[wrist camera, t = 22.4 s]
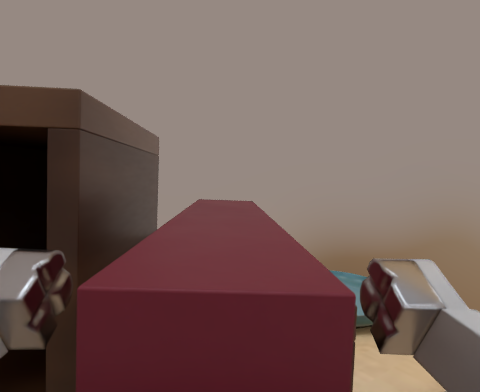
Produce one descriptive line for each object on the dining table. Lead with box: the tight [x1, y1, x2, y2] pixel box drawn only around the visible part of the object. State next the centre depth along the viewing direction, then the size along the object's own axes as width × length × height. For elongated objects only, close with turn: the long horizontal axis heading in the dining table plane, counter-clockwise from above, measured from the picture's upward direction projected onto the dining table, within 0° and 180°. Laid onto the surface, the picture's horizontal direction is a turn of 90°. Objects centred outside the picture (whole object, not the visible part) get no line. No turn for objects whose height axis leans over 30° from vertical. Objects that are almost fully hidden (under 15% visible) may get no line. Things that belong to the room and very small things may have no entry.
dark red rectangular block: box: [76, 199, 356, 392], centre depth 15 cm, size 4×20×3 cm, turn 2°
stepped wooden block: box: [0, 85, 357, 392], centre depth 20 cm, size 20×14×26 cm
